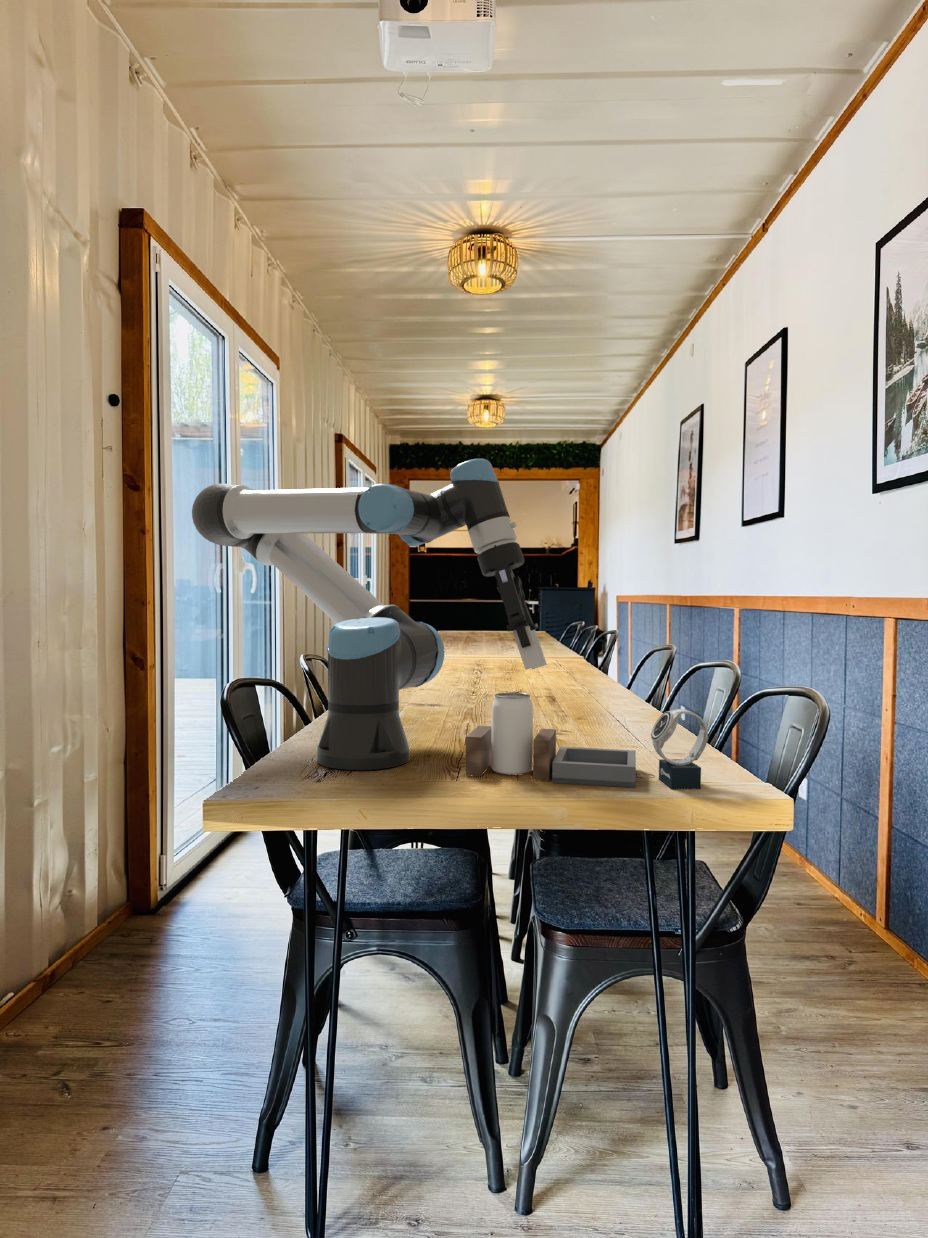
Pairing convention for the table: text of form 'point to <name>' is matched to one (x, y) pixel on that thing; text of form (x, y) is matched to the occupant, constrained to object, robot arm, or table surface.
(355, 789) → the table surface
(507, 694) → the can
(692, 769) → the watch
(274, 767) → the table surface
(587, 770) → the tray
